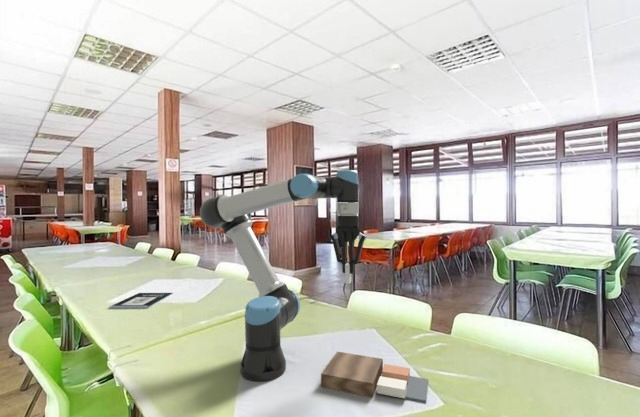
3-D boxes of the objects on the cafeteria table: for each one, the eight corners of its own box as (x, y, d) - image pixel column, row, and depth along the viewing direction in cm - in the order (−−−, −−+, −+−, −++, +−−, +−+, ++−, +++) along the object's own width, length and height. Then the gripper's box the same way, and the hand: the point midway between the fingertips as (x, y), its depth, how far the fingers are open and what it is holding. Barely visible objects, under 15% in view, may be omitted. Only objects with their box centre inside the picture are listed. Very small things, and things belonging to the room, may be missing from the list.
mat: (376, 392, 97) (376, 390, 97) (383, 373, 108) (383, 371, 108) (426, 402, 92) (426, 400, 92) (428, 380, 103) (428, 379, 103)
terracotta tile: (382, 379, 104) (381, 371, 104) (384, 371, 108) (384, 364, 108) (408, 383, 101) (408, 375, 101) (409, 375, 105) (409, 368, 105)
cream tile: (376, 393, 96) (376, 384, 96) (380, 384, 101) (380, 376, 101) (405, 398, 93) (405, 389, 93) (406, 389, 98) (406, 380, 98)
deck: (321, 386, 101) (321, 373, 101) (337, 362, 116) (337, 351, 116) (372, 397, 95) (372, 383, 95) (382, 370, 110) (382, 358, 110)
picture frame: (173, 294, 207) (173, 291, 207) (147, 310, 177) (147, 306, 177) (139, 294, 208) (139, 291, 208) (107, 310, 178) (107, 306, 178)
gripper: (326, 215, 113) (327, 283, 114) (363, 215, 109) (364, 286, 109) (333, 214, 120) (334, 278, 121) (368, 214, 116) (369, 281, 116)
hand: (348, 282), depth 115 cm, fingers closed
